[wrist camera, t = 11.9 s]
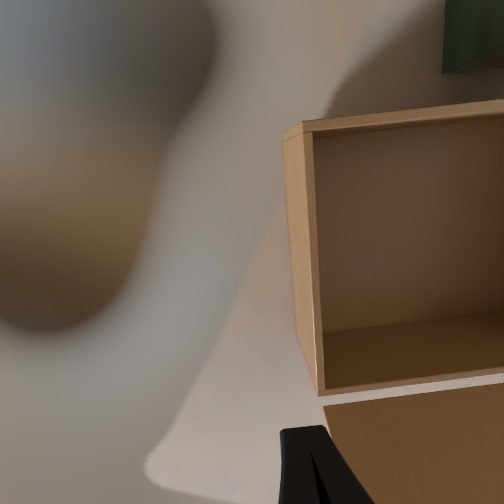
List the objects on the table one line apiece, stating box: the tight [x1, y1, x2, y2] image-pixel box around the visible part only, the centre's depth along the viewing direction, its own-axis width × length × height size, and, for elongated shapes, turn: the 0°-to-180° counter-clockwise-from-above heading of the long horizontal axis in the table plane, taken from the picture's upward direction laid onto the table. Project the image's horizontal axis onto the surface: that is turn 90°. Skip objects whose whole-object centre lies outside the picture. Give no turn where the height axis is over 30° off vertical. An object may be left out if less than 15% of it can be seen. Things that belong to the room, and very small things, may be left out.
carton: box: [281, 99, 504, 397], centre depth 16 cm, size 15×13×5 cm
